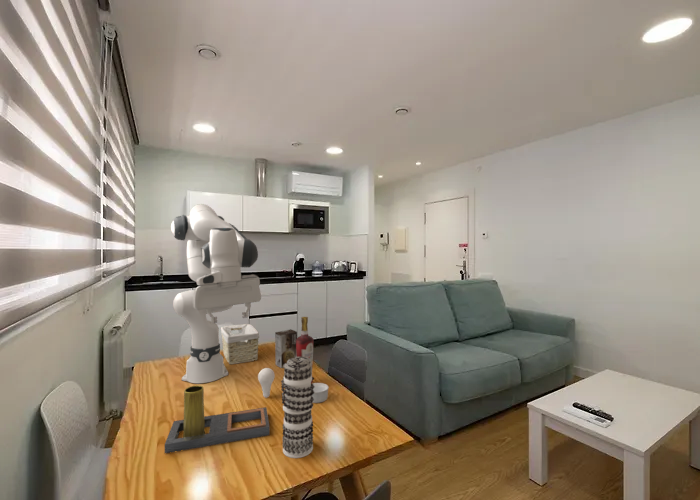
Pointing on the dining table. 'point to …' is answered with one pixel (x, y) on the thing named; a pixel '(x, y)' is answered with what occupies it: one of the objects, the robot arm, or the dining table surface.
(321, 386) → the ramekin
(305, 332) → the liquor
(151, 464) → the dining table surface
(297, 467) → the dining table surface
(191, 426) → the vase
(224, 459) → the dining table surface
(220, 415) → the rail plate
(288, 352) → the coffee box
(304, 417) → the decorative candle
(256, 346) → the storage basket
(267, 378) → the lightbulb
